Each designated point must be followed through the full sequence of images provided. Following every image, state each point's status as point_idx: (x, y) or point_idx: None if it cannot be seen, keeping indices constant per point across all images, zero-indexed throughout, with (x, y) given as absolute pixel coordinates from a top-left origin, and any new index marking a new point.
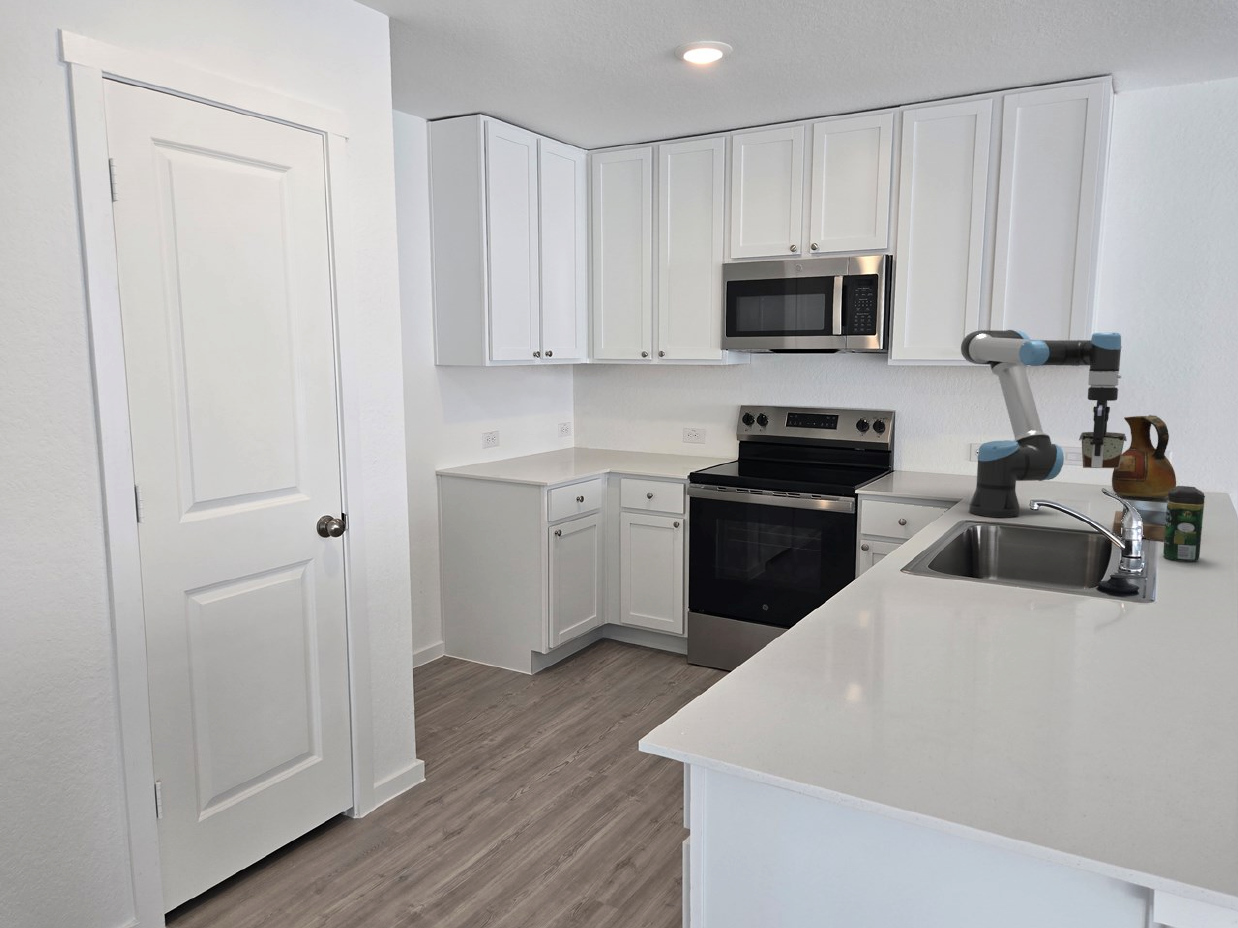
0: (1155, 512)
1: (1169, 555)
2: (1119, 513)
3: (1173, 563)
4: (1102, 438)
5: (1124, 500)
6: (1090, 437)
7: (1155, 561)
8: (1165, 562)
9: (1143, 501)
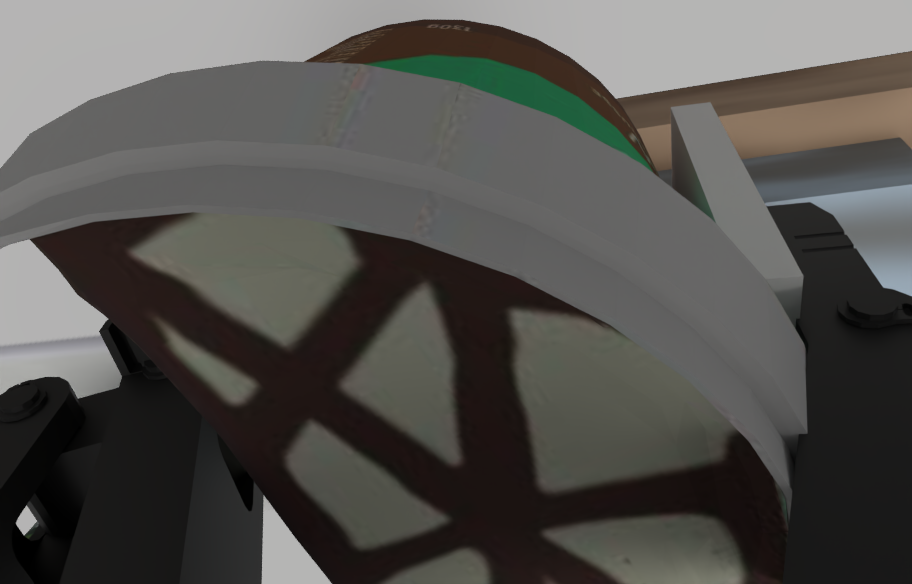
0: None
1: None
2: (842, 124)
3: (93, 393)
4: (34, 573)
5: (891, 189)
6: (179, 367)
7: (65, 347)
8: (83, 373)
9: None
